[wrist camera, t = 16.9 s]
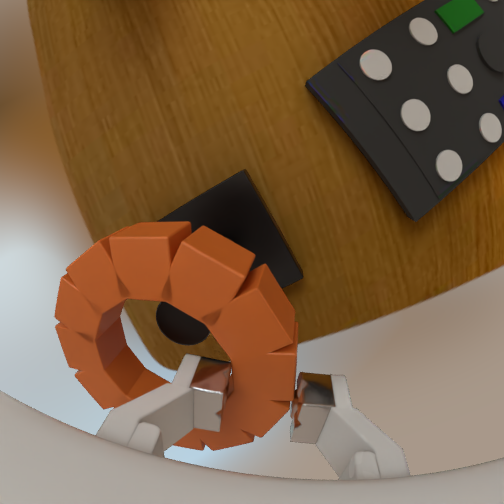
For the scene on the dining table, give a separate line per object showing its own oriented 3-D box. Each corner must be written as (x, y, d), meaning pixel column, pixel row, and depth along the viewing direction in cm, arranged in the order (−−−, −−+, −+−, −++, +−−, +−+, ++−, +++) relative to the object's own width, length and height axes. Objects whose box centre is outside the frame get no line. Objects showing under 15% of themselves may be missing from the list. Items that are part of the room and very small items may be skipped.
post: (303, 271, 22) (313, 358, 13) (207, 316, 24) (167, 408, 15) (245, 168, 20) (212, 186, 11) (149, 226, 22) (69, 280, 13)
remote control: (580, 46, 12) (592, 44, 10) (408, 217, 20) (418, 224, 18) (518, -45, 10) (527, -52, 8) (305, 85, 18) (307, 79, 17)
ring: (338, 379, 12) (341, 415, 10) (167, 432, 14) (154, 460, 12) (207, 169, 10) (185, 174, 8) (52, 287, 12) (24, 306, 11)
